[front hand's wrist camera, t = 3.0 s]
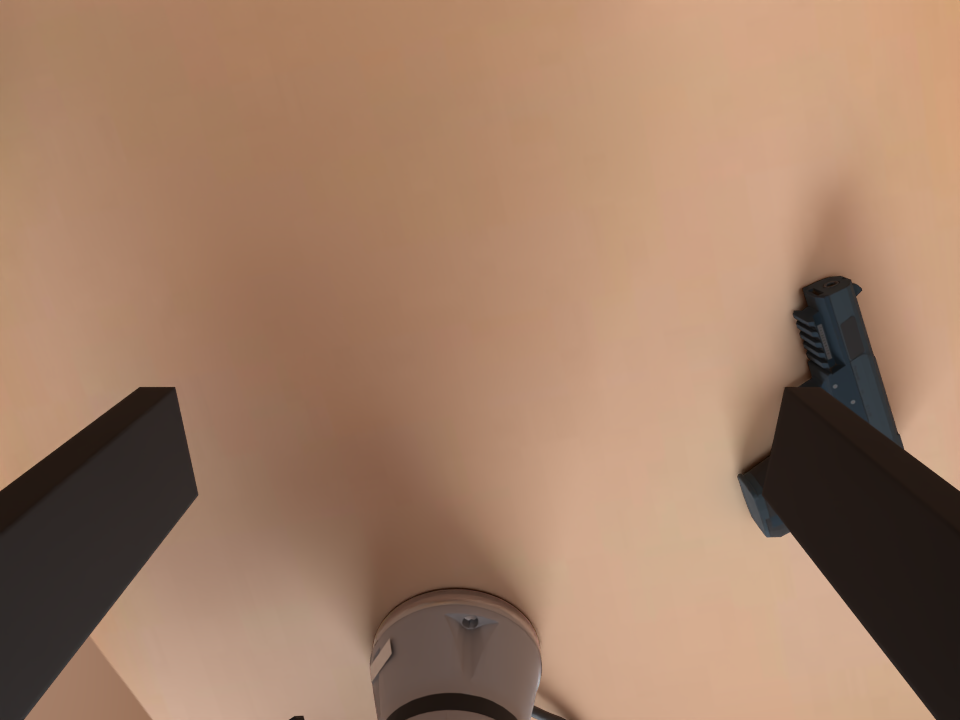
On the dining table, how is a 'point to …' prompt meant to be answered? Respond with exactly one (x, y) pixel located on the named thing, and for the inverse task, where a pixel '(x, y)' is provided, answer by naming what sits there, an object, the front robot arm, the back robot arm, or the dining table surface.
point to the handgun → (830, 376)
